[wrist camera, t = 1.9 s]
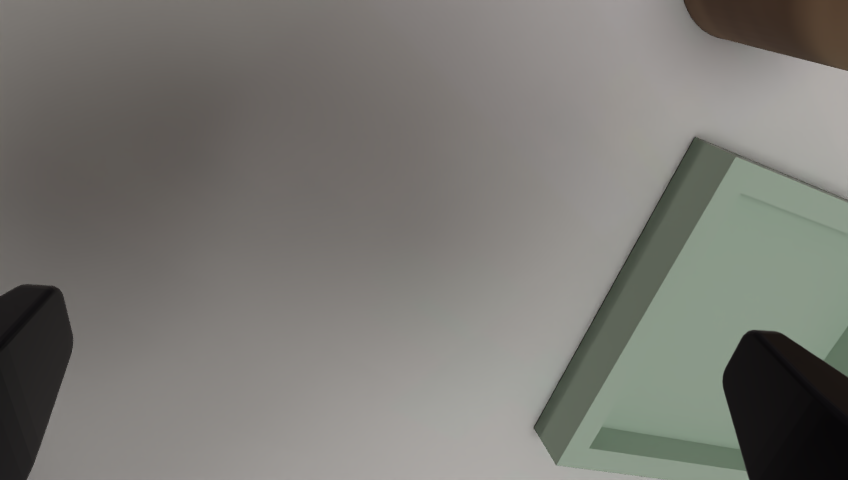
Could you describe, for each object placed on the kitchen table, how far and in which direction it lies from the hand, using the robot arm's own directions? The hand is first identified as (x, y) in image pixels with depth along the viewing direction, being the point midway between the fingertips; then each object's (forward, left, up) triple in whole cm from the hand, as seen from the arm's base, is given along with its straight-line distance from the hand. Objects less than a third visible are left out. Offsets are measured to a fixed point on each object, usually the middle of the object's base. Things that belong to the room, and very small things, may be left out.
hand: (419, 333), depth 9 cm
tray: (-3, -19, -12) cm, 23 cm away
